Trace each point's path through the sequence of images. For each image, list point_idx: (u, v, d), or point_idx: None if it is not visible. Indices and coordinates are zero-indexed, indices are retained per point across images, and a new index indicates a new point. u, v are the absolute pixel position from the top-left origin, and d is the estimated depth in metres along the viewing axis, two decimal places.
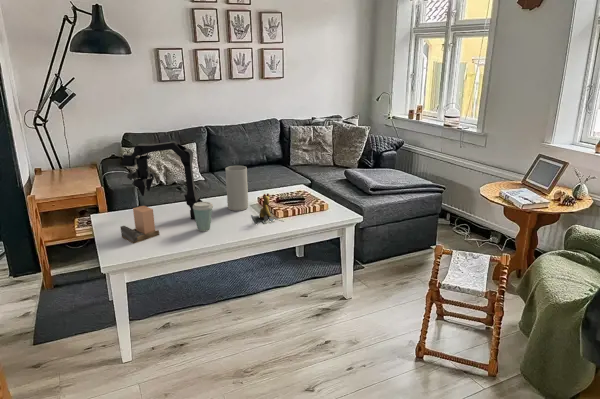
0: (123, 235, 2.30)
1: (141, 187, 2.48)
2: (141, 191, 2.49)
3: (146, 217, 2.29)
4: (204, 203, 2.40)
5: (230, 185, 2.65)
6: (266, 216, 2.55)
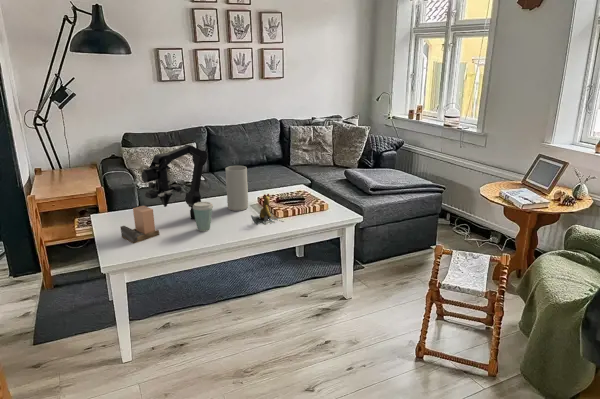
0: (123, 235, 2.30)
1: (162, 198, 2.39)
2: (162, 202, 2.40)
3: (146, 217, 2.29)
4: (204, 203, 2.40)
5: (230, 185, 2.65)
6: (266, 216, 2.54)
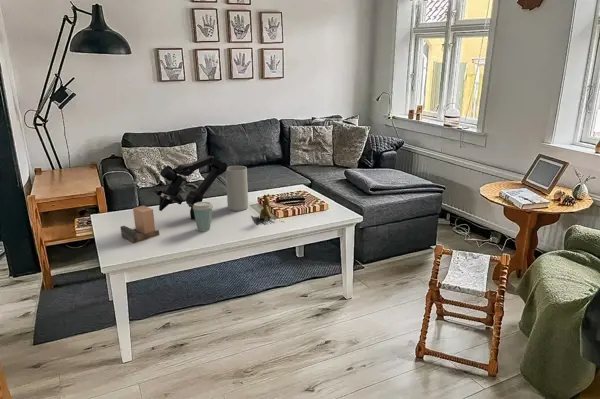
0: (123, 235, 2.30)
1: None
2: None
3: (146, 217, 2.29)
4: (204, 203, 2.40)
5: (230, 185, 2.65)
6: (266, 217, 2.54)
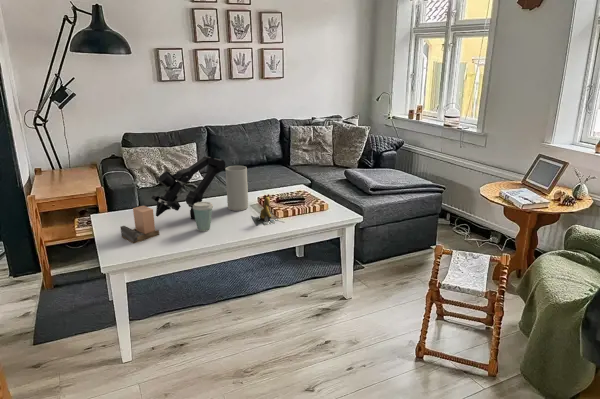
0: (123, 235, 2.30)
1: None
2: None
3: (146, 217, 2.29)
4: (204, 203, 2.40)
5: (230, 185, 2.65)
6: (267, 217, 2.53)
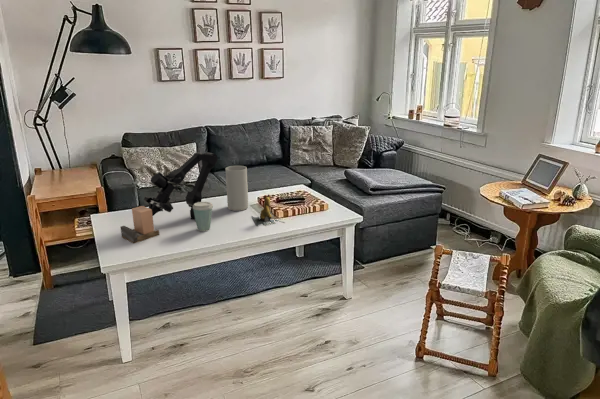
0: (123, 235, 2.30)
1: None
2: None
3: (144, 217, 2.28)
4: (204, 203, 2.40)
5: (230, 185, 2.65)
6: (267, 217, 2.53)
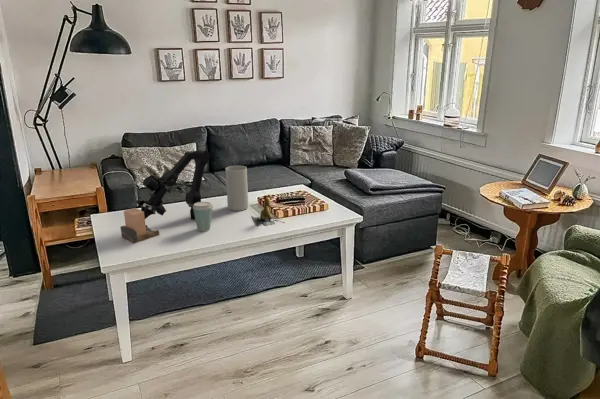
0: (123, 235, 2.30)
1: None
2: None
3: (136, 220, 2.25)
4: (204, 203, 2.40)
5: (230, 185, 2.65)
6: (267, 217, 2.53)
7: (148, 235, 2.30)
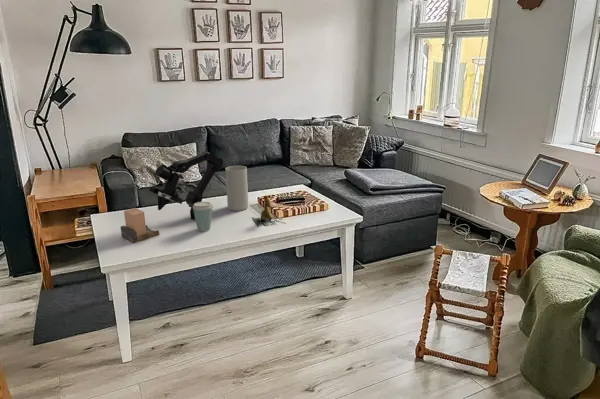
0: (123, 235, 2.30)
1: None
2: None
3: (137, 220, 2.25)
4: (204, 203, 2.40)
5: (230, 185, 2.65)
6: (267, 218, 2.52)
7: (148, 235, 2.30)
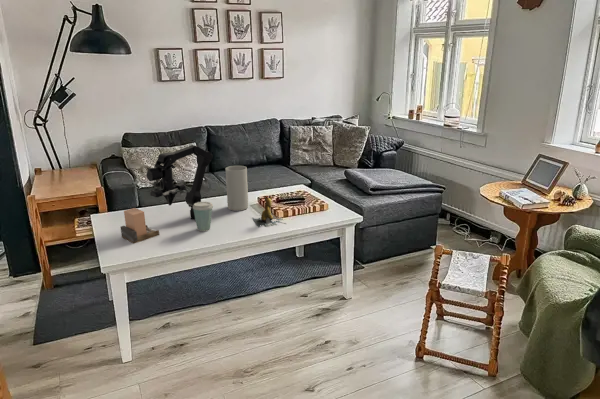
0: (123, 235, 2.30)
1: (167, 196, 2.41)
2: (167, 200, 2.42)
3: (137, 220, 2.25)
4: (204, 203, 2.40)
5: (230, 185, 2.65)
6: (268, 219, 2.51)
7: (148, 235, 2.30)
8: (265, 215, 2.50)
